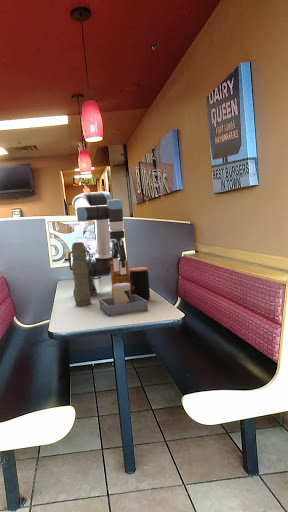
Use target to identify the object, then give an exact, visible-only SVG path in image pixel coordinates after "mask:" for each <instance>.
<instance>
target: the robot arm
mask: <svg viewBox="0 0 288 512" xmlns="http://www.w3.org/2000/svg"><path fill="white" fill-rule="evenodd" d="M71 205H72V208H73V210H74V211H75V218H76V220H77V222H89V221H90V222H91V221H94V227H95V228H94V229H95V243H96V244H95V245H96V254H95V255H94V258H92V257H91V256H90V265H91V268H90V269H88V272H89V273H88V282H89V291H90V294H91V297H92V296H95V295H97V294H98V290H97V287H96V284H95V283H94V279H95V278H102V277H111V269H110V262H113V265H114V271H119V261H120V273H121V275H122V274H126V263H125V261H126V260H128V259H127V254H126V249H125V242H124V240H122V239H124V238H125V231H124V230H125V224H124V223H125V222H124V211H123V206H124V205H123V201H122V200H121V199H117V198H116V199H113V198H112V195H111V194H110V192H108V191H96V192H95V191H93V192H82V193H79V194H78V195H76V196H75V197H74V198H73V199H72V203H71ZM110 239H111V241H110ZM110 245H111V246H110ZM86 261H87V263H88V266H89V257H86ZM73 288H74V289H73V293H72V294H73V296H72V297H75V286H74V287H73Z"/></svg>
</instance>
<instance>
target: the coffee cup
mask: <svg viewBox="0 0 288 512" xmlns="http://www.w3.org/2000/svg"><path fill="white" fill-rule="evenodd" d="M112 288H113V295H114V302H115V305H118V304H125V303H130V283H117V284H113V286H112V285H111V289H112Z"/></svg>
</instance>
